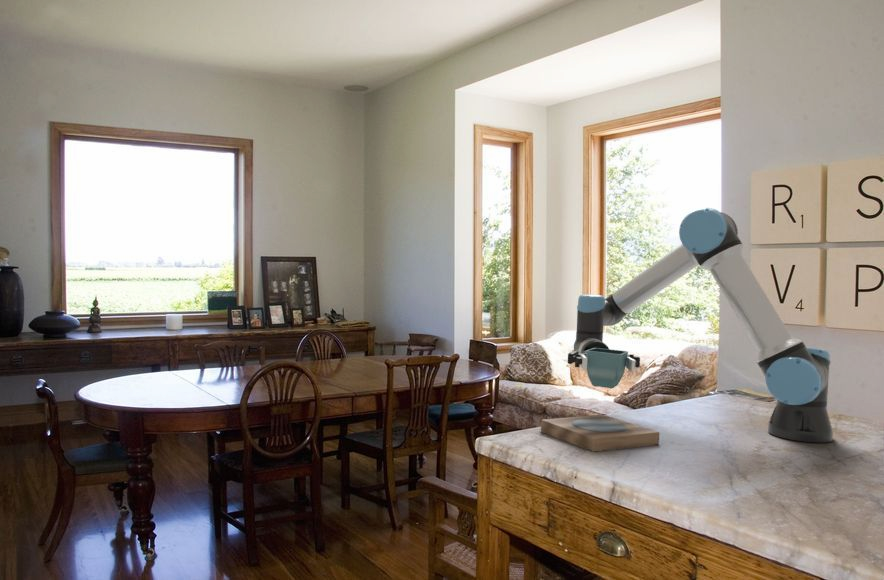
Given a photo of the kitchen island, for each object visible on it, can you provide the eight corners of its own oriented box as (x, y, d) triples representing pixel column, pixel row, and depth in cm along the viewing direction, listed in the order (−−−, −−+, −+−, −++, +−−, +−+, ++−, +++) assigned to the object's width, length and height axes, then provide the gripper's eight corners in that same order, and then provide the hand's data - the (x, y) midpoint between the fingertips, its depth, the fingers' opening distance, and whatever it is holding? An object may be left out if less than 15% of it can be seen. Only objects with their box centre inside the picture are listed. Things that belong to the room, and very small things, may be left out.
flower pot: (626, 386, 175) (628, 350, 174) (619, 391, 167) (621, 354, 167) (591, 382, 179) (593, 347, 178) (583, 386, 171) (585, 350, 170)
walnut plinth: (658, 444, 166) (659, 431, 166) (593, 452, 156) (594, 438, 156) (602, 425, 183) (603, 413, 183) (540, 431, 174) (541, 418, 174)
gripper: (636, 369, 190) (657, 382, 168) (551, 364, 191) (560, 377, 169) (638, 341, 190) (659, 351, 168) (552, 337, 191) (562, 346, 169)
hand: (609, 364), depth 168 cm, fingers closed on flower pot, 11 cm apart
